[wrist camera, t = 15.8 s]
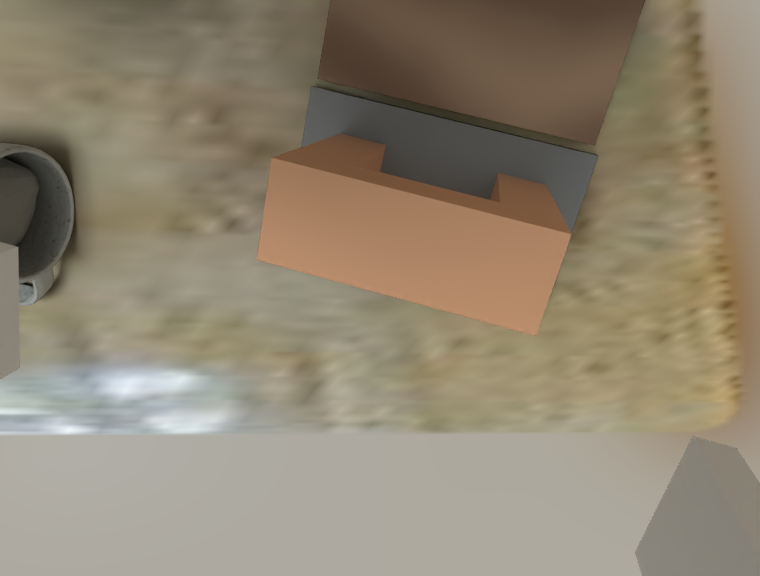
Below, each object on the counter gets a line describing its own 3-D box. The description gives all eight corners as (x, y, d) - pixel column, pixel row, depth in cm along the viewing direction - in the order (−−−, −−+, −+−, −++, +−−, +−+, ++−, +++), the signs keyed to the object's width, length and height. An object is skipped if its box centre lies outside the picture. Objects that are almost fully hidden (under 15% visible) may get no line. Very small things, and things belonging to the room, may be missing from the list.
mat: (314, 86, 31) (311, 86, 31) (596, 154, 30) (598, 156, 29) (290, 228, 34) (287, 231, 34) (546, 297, 33) (547, 301, 32)
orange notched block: (326, 206, 33) (256, 259, 23) (340, 133, 31) (271, 157, 21) (522, 257, 32) (536, 335, 22) (545, 184, 30) (571, 234, 20)
